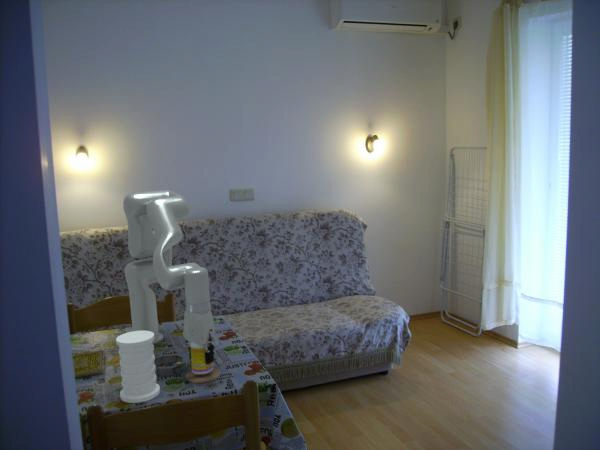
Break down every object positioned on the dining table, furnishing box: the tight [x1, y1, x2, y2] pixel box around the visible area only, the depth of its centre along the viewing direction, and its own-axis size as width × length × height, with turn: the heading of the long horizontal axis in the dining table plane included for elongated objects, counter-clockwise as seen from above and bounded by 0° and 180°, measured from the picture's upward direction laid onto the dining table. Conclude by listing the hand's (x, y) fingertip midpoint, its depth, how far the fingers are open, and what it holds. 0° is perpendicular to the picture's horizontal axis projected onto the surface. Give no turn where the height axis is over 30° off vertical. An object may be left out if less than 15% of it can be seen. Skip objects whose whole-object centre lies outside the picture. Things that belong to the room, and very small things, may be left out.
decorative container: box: [115, 331, 161, 404], centre depth 160 cm, size 12×12×18 cm
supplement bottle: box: [190, 340, 214, 375], centre depth 172 cm, size 7×7×13 cm
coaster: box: [185, 367, 221, 384], centre depth 173 cm, size 11×11×1 cm
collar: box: [154, 353, 188, 377], centre depth 180 cm, size 12×12×3 cm
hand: (201, 360), depth 172 cm, fingers closed on supplement bottle, 6 cm apart
